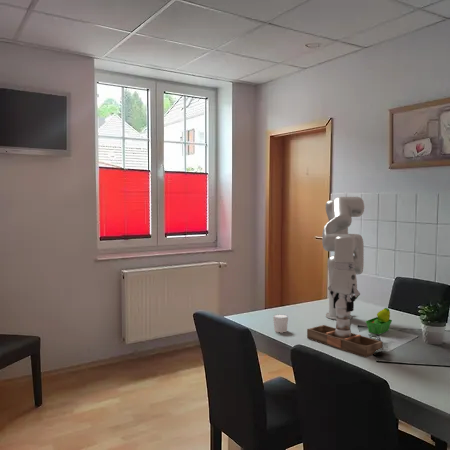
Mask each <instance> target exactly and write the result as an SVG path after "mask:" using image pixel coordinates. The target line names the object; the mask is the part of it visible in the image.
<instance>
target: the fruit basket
mask: <svg viewBox="0 0 450 450" xmlns="http://www.w3.org/2000/svg"><path fill="white" fill-rule="evenodd" d="M390 311H391V310H390V309H389V307H388V308H387V307H384V308H383V309H381V310H380V311H378V312H377V313H376V317H373V318H370V319H368V320H366V321H365V324H366V326H367V329H368V333H371V334H376V335H381V334H384V333H386V332H389V330H390V327H391V324H392V321H393V320H392V319H390V317H391V312H390Z"/></svg>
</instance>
